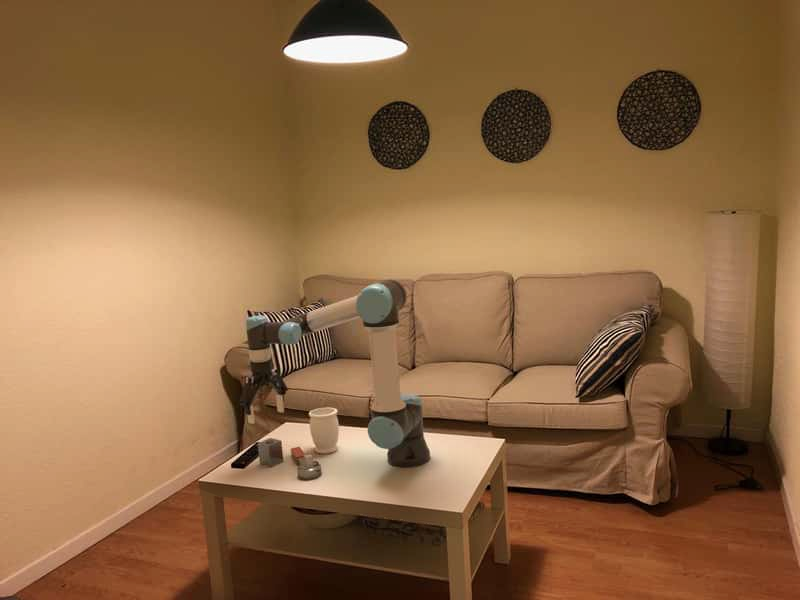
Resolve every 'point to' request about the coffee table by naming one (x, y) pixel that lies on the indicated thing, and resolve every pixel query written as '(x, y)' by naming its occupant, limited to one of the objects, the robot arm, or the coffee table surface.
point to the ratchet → (306, 465)
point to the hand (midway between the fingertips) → (266, 417)
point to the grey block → (270, 452)
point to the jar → (324, 429)
